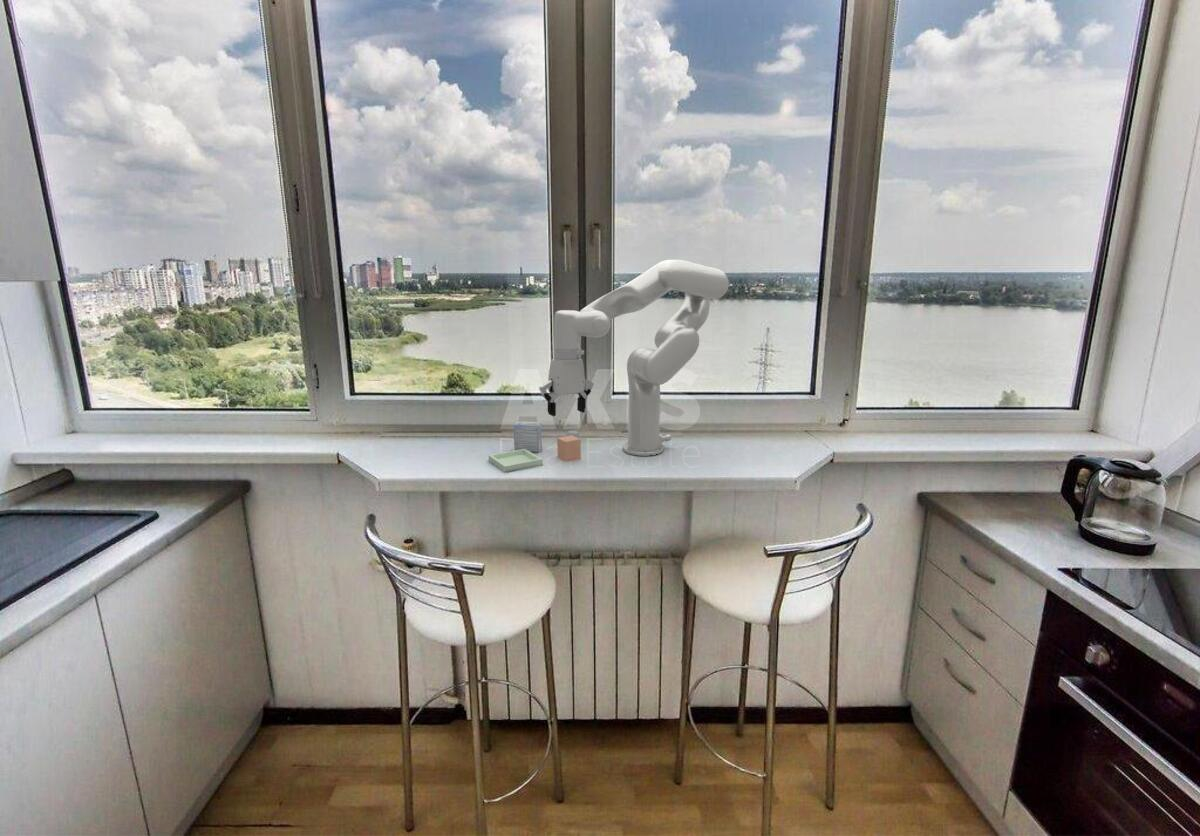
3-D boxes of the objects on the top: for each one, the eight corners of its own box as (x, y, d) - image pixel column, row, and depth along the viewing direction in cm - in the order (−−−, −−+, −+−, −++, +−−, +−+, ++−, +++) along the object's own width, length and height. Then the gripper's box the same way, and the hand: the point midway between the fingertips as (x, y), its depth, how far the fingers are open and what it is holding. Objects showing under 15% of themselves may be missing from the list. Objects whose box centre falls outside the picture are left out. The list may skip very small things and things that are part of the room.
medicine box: (542, 448, 176) (541, 421, 174) (539, 453, 172) (538, 425, 169) (517, 447, 177) (516, 421, 174) (514, 452, 172) (513, 424, 170)
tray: (524, 454, 170) (524, 448, 170) (542, 465, 161) (542, 459, 160) (488, 461, 164) (488, 455, 163) (505, 472, 154) (504, 466, 154)
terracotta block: (572, 454, 171) (571, 435, 169) (580, 458, 166) (580, 439, 165) (557, 457, 168) (557, 437, 166) (565, 461, 164) (565, 442, 162)
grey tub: (575, 444, 180) (575, 429, 178) (581, 448, 176) (581, 432, 175) (564, 446, 177) (564, 431, 176) (570, 450, 174) (570, 434, 173)
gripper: (586, 351, 167) (585, 407, 171) (533, 354, 158) (534, 413, 162) (600, 354, 161) (598, 412, 165) (546, 358, 152) (546, 419, 156)
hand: (566, 413), depth 164 cm, fingers open, 9 cm apart
